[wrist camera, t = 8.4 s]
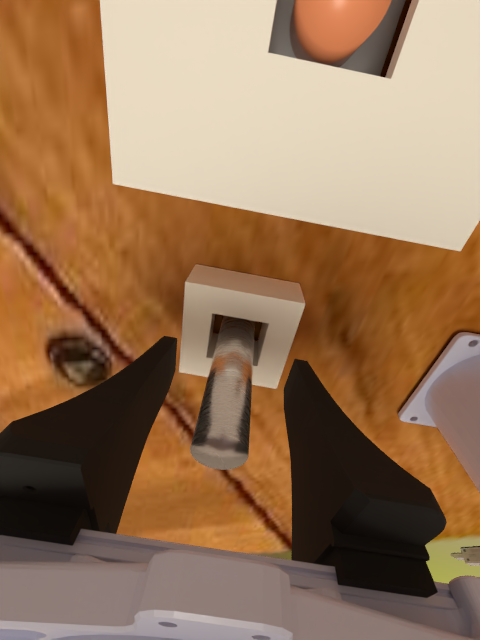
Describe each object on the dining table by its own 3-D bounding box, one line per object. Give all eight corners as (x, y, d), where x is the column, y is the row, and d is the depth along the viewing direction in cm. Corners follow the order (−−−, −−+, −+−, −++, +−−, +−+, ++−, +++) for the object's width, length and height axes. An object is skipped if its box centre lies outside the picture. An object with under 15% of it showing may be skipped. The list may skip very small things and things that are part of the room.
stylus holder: (299, 283, 15) (305, 303, 13) (274, 362, 19) (276, 388, 16) (195, 264, 15) (185, 281, 13) (188, 346, 18) (179, 372, 16)
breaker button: (418, -56, 9) (488, -149, 6) (360, 122, 11) (391, 112, 9) (275, -89, 9) (282, -201, 6) (248, 99, 11) (244, 81, 8)
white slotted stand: (633, -229, 7) (971, -577, 4) (409, 227, 13) (460, 251, 10) (149, -357, 7) (36, -880, 3) (151, 176, 13) (113, 183, 10)
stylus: (258, 307, 16) (253, 441, 9) (251, 333, 17) (242, 473, 10) (225, 301, 16) (192, 429, 9) (221, 327, 17) (188, 463, 10)
